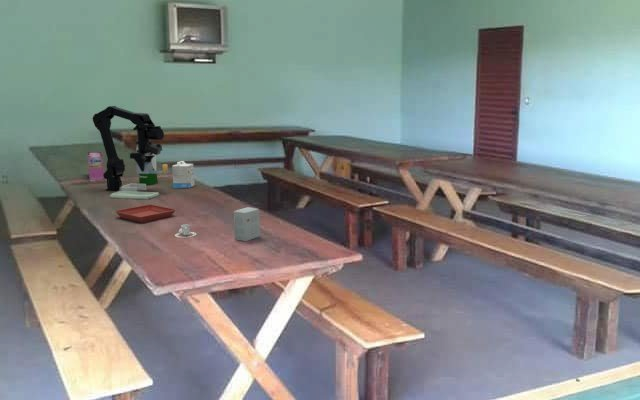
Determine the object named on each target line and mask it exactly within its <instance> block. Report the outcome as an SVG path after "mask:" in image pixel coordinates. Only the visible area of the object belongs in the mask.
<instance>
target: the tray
mask: <svg viewBox="0 0 640 400" xmlns="http://www.w3.org/2000/svg"><path fill="white" fill-rule="evenodd" d="M159 196H160V192H157V191H156V192H153V191H137V192H133V191H120V190H117V191H116V192H113V193H110V194H108V199H126V200H128V199H129V200H130V199H131V200H147V201H149V200H151V199H155V198H157V197H159Z"/></svg>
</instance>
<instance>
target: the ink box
mask: <svg viewBox="0 0 640 400" xmlns="http://www.w3.org/2000/svg"><path fill="white" fill-rule="evenodd" d="M171 168H172V187H173V188H174V189H190V188H192V187H194V186H195V173H194V171H195V170H194V163H186V162H185V161H184V160H180V161H177V162H176V164H173V165H172V166H171Z"/></svg>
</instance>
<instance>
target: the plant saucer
mask: <svg viewBox="0 0 640 400" xmlns="http://www.w3.org/2000/svg"><path fill="white" fill-rule="evenodd" d="M176 210H177V209H175V208H171V207H165V206H160V205H155V204H145V205H138V206H135V207H129V208H124V209H118V210H115V211H114V212H115V214H117V215H118V216H119V217H120V218H122V219H125V220H128V221H132V222H133V221H134V222H138V223H146V222H151V221H156V220H159V219H160V220H161V219H164V218H169V217H172V216H173V214H175V212H176Z"/></svg>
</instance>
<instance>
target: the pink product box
mask: <svg viewBox="0 0 640 400" xmlns="http://www.w3.org/2000/svg"><path fill="white" fill-rule="evenodd" d="M102 154H103V153H102V151H98V152H90V151H88V152H87V165H88V166H87V167H88V175H89V177H88V178H89V181H90V180H103V181H105V179H104V176H103V174H104V173H105V170H104V159H103V155H102Z"/></svg>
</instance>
